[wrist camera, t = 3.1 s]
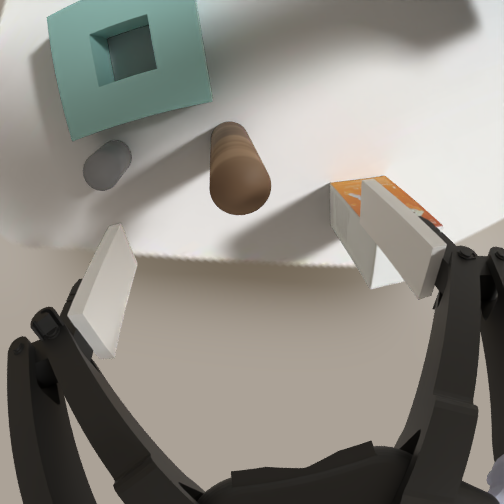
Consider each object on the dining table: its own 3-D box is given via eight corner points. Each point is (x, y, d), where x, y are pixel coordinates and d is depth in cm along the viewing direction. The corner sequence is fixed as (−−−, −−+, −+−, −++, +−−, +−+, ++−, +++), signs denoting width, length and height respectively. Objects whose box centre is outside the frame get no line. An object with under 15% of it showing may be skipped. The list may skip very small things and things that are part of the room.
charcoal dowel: (95, 146, 28) (78, 159, 24) (126, 136, 28) (112, 148, 24) (105, 177, 31) (90, 194, 27) (135, 168, 31) (124, 185, 27)
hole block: (68, 21, 19) (46, 17, 15) (193, -20, 19) (189, -35, 15) (90, 130, 27) (72, 141, 23) (212, 97, 27) (212, 101, 23)
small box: (384, 174, 35) (445, 224, 24) (381, 216, 38) (432, 274, 28) (327, 181, 35) (377, 238, 24) (328, 225, 38) (369, 292, 28)
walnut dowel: (207, 125, 29) (204, 164, 18) (245, 118, 29) (267, 154, 18) (214, 159, 31) (215, 219, 20) (250, 153, 32) (274, 209, 20)
